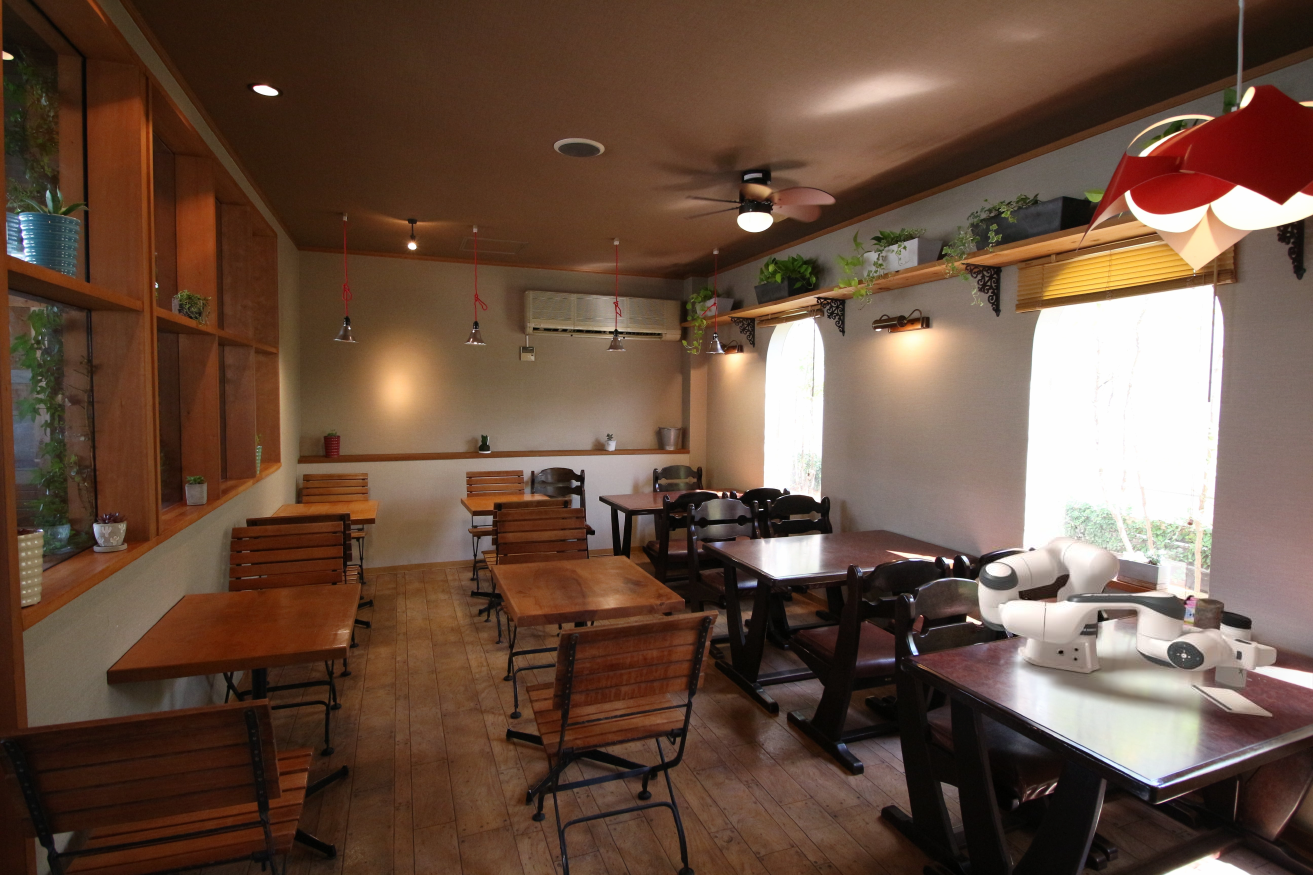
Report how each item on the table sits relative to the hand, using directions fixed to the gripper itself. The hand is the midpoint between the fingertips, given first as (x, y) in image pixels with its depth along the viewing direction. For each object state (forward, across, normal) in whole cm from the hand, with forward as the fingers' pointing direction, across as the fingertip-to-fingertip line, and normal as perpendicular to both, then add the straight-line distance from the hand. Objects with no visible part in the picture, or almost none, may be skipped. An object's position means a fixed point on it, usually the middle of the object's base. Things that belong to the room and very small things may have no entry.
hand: (1235, 639), depth 179 cm
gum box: (+64, -33, -20) cm, 74 cm away
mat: (+8, -3, -20) cm, 22 cm away
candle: (+41, -21, -20) cm, 50 cm away
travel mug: (-1, 0, -13) cm, 13 cm away
